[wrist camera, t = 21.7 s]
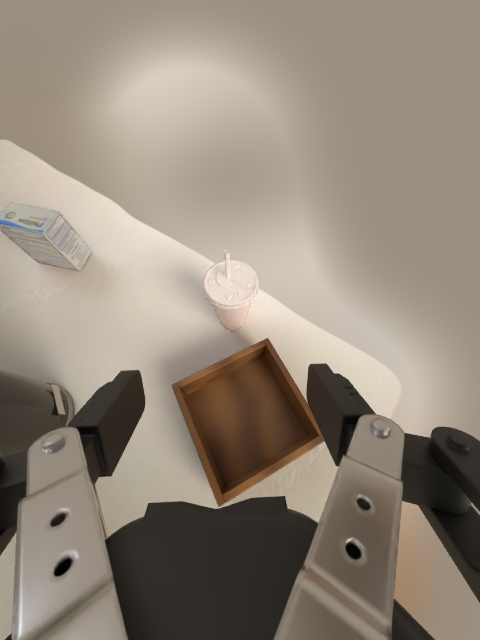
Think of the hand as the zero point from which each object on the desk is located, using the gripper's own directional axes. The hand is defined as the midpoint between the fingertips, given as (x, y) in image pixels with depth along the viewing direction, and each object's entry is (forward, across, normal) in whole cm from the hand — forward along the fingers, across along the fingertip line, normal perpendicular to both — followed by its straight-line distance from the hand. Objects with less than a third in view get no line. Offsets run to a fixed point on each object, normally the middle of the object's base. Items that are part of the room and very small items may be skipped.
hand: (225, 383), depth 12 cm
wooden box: (+15, -2, +15) cm, 21 cm away
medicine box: (+34, +28, -4) cm, 44 cm away
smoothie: (+25, 0, +5) cm, 25 cm away
